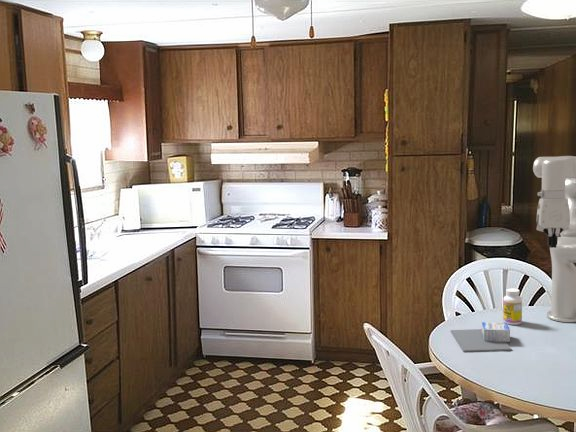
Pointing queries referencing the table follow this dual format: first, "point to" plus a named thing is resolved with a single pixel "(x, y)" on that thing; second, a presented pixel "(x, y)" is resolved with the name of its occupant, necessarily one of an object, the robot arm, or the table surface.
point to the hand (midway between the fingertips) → (552, 246)
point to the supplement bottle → (512, 307)
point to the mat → (477, 341)
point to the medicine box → (495, 331)
